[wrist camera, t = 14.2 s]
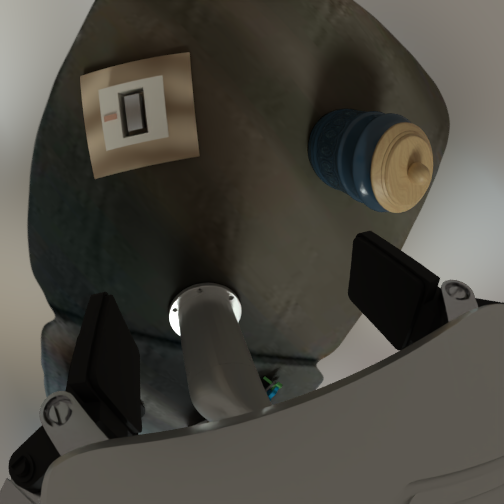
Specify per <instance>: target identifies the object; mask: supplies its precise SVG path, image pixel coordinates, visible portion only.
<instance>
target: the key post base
mask: <svg viewBox="0 0 504 504" xmlns="http://www.w3.org/2000/svg"><path fill="white" fill-rule="evenodd" d="M161 75H162V77H163V85H164V96H165V106H166V115H167V124H168V132H169V137H166V138H161V139H156V140H151V141H146V142H141V143H137V144H132V145H128V146H124V147H120V148H116V149H112V150H108V151H106V146H105V140H104V133H103V126H102V119H101V111H100V102H99V92H98V90H100V89H104V88H107V87H111V86H115V85H119V84H123V83H127V82H131V81H136V80H140V79H145V78H150V77H156V76H161ZM80 82H81V94H82V104H83V113H84V121H85V128H86V135H87V141H88V147H89V153H90V158H91V163H92V168H93V173H94V178H95V179H96V178H100V177H104V176H108V175H111V174H115V173H119V172H124V171H128V170H132V169H136V168H141V167H145V166H150V165H155V164H160V163H165V162H170V161H175V160H180V159H186V158H192V157H198V156H200V155H199V146H198V137H197V128H196V119H195V109H194V99H193V88H192V76H191V64H190V52H187V53H179V54H171V55H165V56H159V57H153V58H148V59H143V60H138V61H133V62H129V63H125V64H120V65H117V66H113V67H109V68H105V69H102V70H98V71H95V72H92V73H89V74H86V75H82V76H80ZM124 100H125V109H126V118H127V125H128V132H129V135H133V134H138V133H142V132H147V131H148V126H147V118H146V109H145V100H144V92H140V93H136V94H131V95H127V96H125V97H124Z"/></svg>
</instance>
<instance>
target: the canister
mask: <svg viewBox="0 0 504 504" xmlns="http://www.w3.org/2000/svg"><path fill="white" fill-rule="evenodd" d="M308 155H309V160H310V163H311V166H312V168H313V170H314V172H315V173H316V174H317V176H318V177H319V178H320V179H321V180H322V181H323V182H324V183H325V184H327V185H328V186H330V187H332V188H334V189H337V190H340V191H342V192H344V193H346V194H348V195H349V196H351V197H352V198H353V199H354V200H356V201H358V202H361V203H364V204H365V205H366V206H368V207H369V208H370V209H372V210H374V211H378V212H394V213H401V212H405V211H407V210H409V209H411V208H412V207H413V206H415V205H416V204H417V203H418V202H419V201H420V199H421V198H422V197H423V195H424V194H425V192H426V190H427V189H428V186H429V184H430V181H431V178H432V173H433V155H432V149H431V145H430V142H429V140H428V138H427V136H426V135H425V133H424V132H423V131H422V130H421V129H420V128H419V127H418V126H416V125H414V124H412V123H411V122H410V121H409V120H408V119H406V118H405V117H403V116H401V115H398V114H393V113H388V114H385V113H382V112H378V111H369V112H365V111H358V110H354V109H339V110H335V111H332V112H330V113H328V114H326V115H324V116H323V117H322V118H321V119H320V120H319V121H318V122H317V123H316V124H315V126H314V128H313V130H312V132H311V134H310V138H309V143H308Z"/></svg>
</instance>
